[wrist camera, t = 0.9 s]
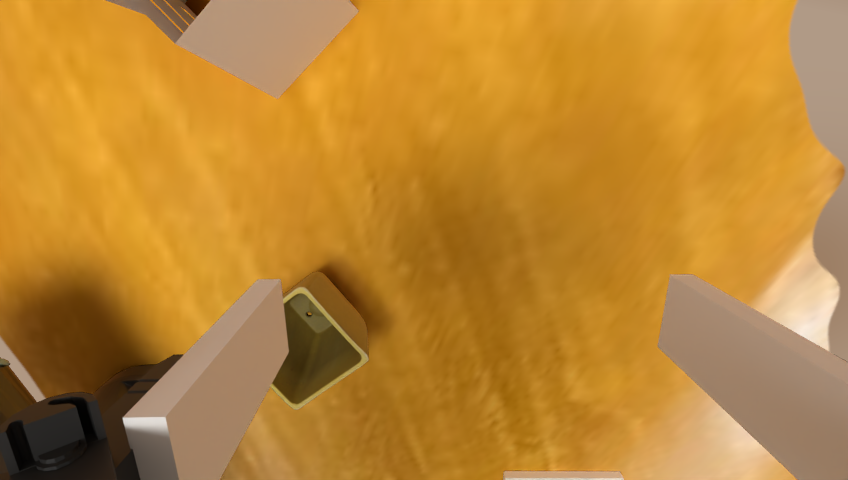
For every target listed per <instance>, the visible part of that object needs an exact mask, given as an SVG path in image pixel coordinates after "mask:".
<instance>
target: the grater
mask: <svg viewBox="0 0 848 480" xmlns="http://www.w3.org/2000/svg"><path fill="white" fill-rule="evenodd" d="M106 1H109V2H112V3H115V4H117V5H120V6H123V7H126V8H129V9H131V10H134V11H137V12H140V13H142V14H145V15H147V16H148V17H149V18H150V19H151V20H152V21H153V22H154V23H155V24H156V25H157V26H158V27H159V28H160V29H161V30H162V31H163V32H164V33H165V34H166V35H167V36H168V37H169V38H170V39H171V40H172V41H173V42H174V43H175V44H177V45H179V46H181V47H182V48H184V49H186V50H188V51H190V52H192V53H194V54H195V55H197V56H199V57H201V58H203V59H205V60H206V61H208V62H210V63H212V64H214V65H216V66H217V67H219V68H221V69H223V70H225V71H227V72H229V73H230V74H232V75H234V76H236V77H238V78H240V79H241V80H243V81H245V82H247V83H249V84H251V85H253V86H254V87H256V88H258V89H260V90H262V91H264V92H265V93H267V94H269V95H271V96H273V97H275V98H277V99H278V98H279V97H280V96H281V95H282V94H283V93H284V92H285V90H286V89H287V88H288V87H289V86H290V85H291V84H292V83H293V82H294V81H295V80H296V79H297V78H298V76H299V75H300V74H301V73H302V72H303V71H304V70H305V69H306V68H307V67H308V66H309V65H310V64H311V62H312V61H313V60H314V59H315V58H316V57H317V56H318V55H319V54H320V53H321V52H322V51H323V50H324V48H325V47H326V46H327V45H328V44H329V43H330V42H331V41H332V40H333V39H334V38H335V37H336V36H337V34H338V33H339V32H340V31H341V30H342V29H343V28H344V27H345V26H346V25H347V24H348V23H349V22H350V20H351V19H352V18H353V17H354V16H355V15H356V14H357V13H358V12H359V11H358V10H357V8H356V7H355V6H354V5H353V4H352V3H351V1H350V0H211V1H210V2H209V3H208V4H207V5H206V7H205V8H204V9H203V10H202V11H201V13H200V14H199V15H198V16H196V15H195V14H194V13H193V12H192V11H191V10H190V9H189V8H188V7H187V6H186V5H185V2H186V1H187V0H166V1H167V2H168V3H169V4H170V5H171V6H172V7H173V8H174V9H175V10H176V12H177V13H178V14H179V15H180V16H181V17H182V18H183V19H184V20H185V21H186V22H187V23H188V24H189V25H190V26H188V25H187V24H186V23H185V22H184V21H183V20H182V19H181V18H180V17H179V16H178V15H177V13H176V12H175V11H174V10H173V9H172V8H171V7H170V6H169V5H168V4H167V3H166V2H165V1H164V0H153V1H154V2H155V3H156V4H157V5H158V6H159V7H160V8H161V9H162V10H163V11H164V12H165V13H166V14H167V15H168V17H169V18H170V19H171V20H172V21H173V22H174V23H175V24H176V25H177V26H178V27H179V28H180V29H181V30H182V31H183V32H184V33H182V32H181V31H180V30H179V29H178V28H177V27H176V26H175V25H174V24H173V23H172V22H171V21H170V20H169V19H168V18H167V17H166V16H165V15H164V14H163V13H162V12H161V11H160V10H159V9H158V8H157V7H156V6H155V5H154V4H153V3H152V2H151V1H150V0H106ZM181 7H182V8H183V9H185V10H186V11H187V12H188V13H189V14H190V15H191V16H192V17H193V18H194V19H195V20H194V19H193V18H192V17H191V16H190V15H189V14H188V13H186V12H185V11H184V10H183V9H182V8H181Z"/></svg>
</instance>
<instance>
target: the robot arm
mask: <svg viewBox="0 0 848 480" xmlns="http://www.w3.org/2000/svg"><path fill="white" fill-rule="evenodd" d="M658 348H660V349H661V350H662V351H663V352H664V353H665V354H666V355H667V356H668V357H669V358H670V359H671V360H672V361H673V362H674V363H675V364H676V365H677V366H679V367H680V368H681V369H682V370H683V371H684V372H685V373H686V374H687V375H688V376H689V377H690V378H691V379H692V380H693V381H694V382H695V383H696V384H697V385H699V386H700V387H701V388H702V389H703V390H704V391H705V392H706V393H707V394H708V395H709V396H710V397H711V398H712V399H713V400H714V401H715V402H716V403H718V404H719V405H720V406H721V407H722V408H723V409H724V410H725V411H726V412H727V413H728V414H729V415H730V416H731V417H732V418H733V419H734V420H735V421H737V422H738V423H739V424H740V425H741V426H742V427H743V428H744V429H745V430H746V431H747V432H748V433H749V434H750V435H751V436H752V437H753V438H754V439H755V440H757V441H758V442H759V443H760V444H761V445H762V446H763V447H764V448H765V449H766V450H767V451H768V452H769V453H770V454H771V455H772V456H773V457H774V458H776V459H777V460H778V461H779V462H780V463H781V464H782V465H783V466H784V467H785V468H786V469H787V470H788V471H789V472H790V473H791V474H792V475H793V476H795V477H796V478H797V479H798V480H848V362H847V361H845V360H843V359H842V358H840V357H838V356H836V355H834V354H832V353H830V352H829V351H827V350H825V349H823V348H822V347H820V346H818V345H816V344H815V343H813V342H811V341H809V340H807V339H806V338H804V337H802V336H800V335H799V334H797V333H795V332H793V331H792V330H790V329H788V328H786V327H785V326H783V325H781V324H779V323H777V322H776V321H774V320H772V319H770V318H769V317H767V316H765V315H763V314H762V313H760V312H758V311H756V310H755V309H753V308H751V307H749V306H747V305H746V304H744V303H742V302H740V301H739V300H737V299H735V298H733V297H732V296H730V295H728V294H726V293H725V292H723V291H721V290H719V289H718V288H716V287H714V286H712V285H710V284H709V283H707V282H705V281H703V280H702V279H700V278H698V277H696V276H695V275H693V274H682V275H670V279H669V285H668V290H667V296H666V302H665V307H664V313H663V319H662V325H661V330H660V336H659V342H658ZM288 353H289V349H288V340H287V331H286V322H285V312H284V303H283V294H282V285H281V279H258V280H257V281H256V282H255V283H254V284H253V285H252V286H251V287H250V288H249V289H248V290H247V291H246V292H245V293H244V294H243V295H242V296H241V297H240V298H239V299H238V300H237V301H236V302H235V303H234V304H233V305H232V306H231V307H230V308H229V309H228V310H227V311H226V312H225V313H224V314H223V315H222V316H221V318H220V319H219V320H218V321H217V322H216V323H215V324H214V325H213V326H212V327H211V328H210V329H209V330H208V331H207V332H206V333H205V334H204V335H203V336H202V337H201V338H200V339H199V340H198V341H197V342H196V343H195V344H194V345H193V346H192V347H191V348H190V349H189V350H188V351H187V352H186V353H185V354H184V355H172V356H171V357H169V358H167V359H165V360H164V361H162V362H160V363H158V364H157V365H141V366H135V367H131V368H128V369H125V370H123V371H121V372H119V373H117V374H116V375H114V376H113V377H112V378H110V379H109V380H108V381H107V382H106V383H105V384H103V385H102V386H101V387H100V388H99V389H98V390H97V391H96V392H95V393H94V394H89V393H84V392H76V393H66V394H62V395H58V396H54V397H50V398H47V399H44V400H42V401H39V402H36V400H35V399H34V398H33V397H32V395H31V394H30V393H29V392H28V390H27V389H26V388H25V386H24V385H23V384H22V383H21V381H20V380H19V379H18V377H17V376H16V375H15V374H14V372H13V371H12V370H11V368H10V367H9V365H10V363H9V361H7V360H5V359H1V358H0V480H220V478H221V476H222V474H223V473H224V471H225V469H226V467H227V465H228V463H229V461H230V460H231V458H232V456H233V454H234V452H235V450H236V449H237V447H238V445H239V443H240V441H241V439H242V438H243V436H244V434H245V432H246V430H247V428H248V426H249V425H250V423H251V421H252V419H253V417H254V415H255V414H256V412H257V410H258V408H259V406H260V404H261V403H262V401H263V399H264V397H265V395H266V393H267V391H268V390H269V388H270V386H271V384H272V382H273V380H274V379H275V377H276V375H277V373H278V371H279V369H280V368H281V366H282V364H283V362H284V360H285V358H286V356H287V355H288Z"/></svg>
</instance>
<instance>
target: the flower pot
mask: <svg viewBox="0 0 848 480" xmlns="http://www.w3.org/2000/svg"><path fill="white" fill-rule="evenodd" d="M283 303H284V312H285V322H286V331H287V340H288V349H289V353H288V355H287V356H286V358H285V360H284V362H283V364H282V366H281V368H280V369H279V371H278V373H277V375H276V377H275V379H274V380H273V382H272V384H271V386H270V387H271V388H272V389H273V390H274V391H275V392H276V393H277V394H278V395H279V396H280V397H281V398H282V399H283V400H284V401H285V402H286V403H287V404H288V405H289V406H290V407H292V408H293V409H295V410H297V409H300V408H301V407H303V406H304V405H306V404H307V403H308V402H310V401H311V400H313V399H314V398H315V397H317V396H318V395H320V394H321V393H323V392H324V391H326V390H327V389H329V388H330V387H331V386H333V385H334V384H336V383H337V382H339V381H340V380H342V379H343V378H345V377H346V376H348V375H349V374H351V373H352V372H354V371H355V370H357V369H358V368H360V367H361V366H362V365H364V364H365V363H366V362H367V361H368V360H369V357H368V330H367V326H366V323H365V321H364V320H363V318H362V316H361V315H360V314H359V312H358V311H357V310H356V309H355V308H354V307H353V306H352V304H351V303H350V302H349V301H348V300H347V299H346V298H345V297H344V296H343V295H342V293H341V292H340V291H339V290H338V289H337V288H336V287H335V286H334V284H333V283H332V282H331V281H330V280H329V279H328V278H327V276H326V275H325V274H324V273H322V272H319V271H316V272H313V273H311V274H310V275H308V276H307V277H306V278H305V279H303V280H302V281H301V282H299V283H298V284H297V285H296V286H294V287H293V288H292V289H290V290H289V291H288V292H286V293H285V294H284V295H283ZM307 312H311V313H312V315H311V316H307Z"/></svg>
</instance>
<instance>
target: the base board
mask: <svg viewBox="0 0 848 480" xmlns="http://www.w3.org/2000/svg"><path fill="white" fill-rule="evenodd" d="M623 479H624V478H623V476H622V474H621V473H620V471H504V474H503V480H623Z"/></svg>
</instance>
